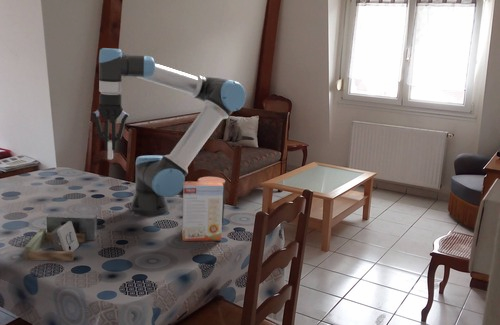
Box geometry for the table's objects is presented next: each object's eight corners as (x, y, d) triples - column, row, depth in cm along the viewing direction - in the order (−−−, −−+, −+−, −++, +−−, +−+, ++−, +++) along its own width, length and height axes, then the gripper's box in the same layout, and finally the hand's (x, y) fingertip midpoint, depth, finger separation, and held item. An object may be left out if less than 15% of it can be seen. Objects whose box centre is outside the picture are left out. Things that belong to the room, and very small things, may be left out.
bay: (85, 240, 179) (85, 229, 178) (72, 260, 162) (72, 248, 161) (41, 239, 177) (41, 228, 176) (24, 259, 161) (24, 247, 160)
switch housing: (97, 235, 183) (97, 214, 182) (94, 240, 179) (93, 218, 177) (50, 234, 182) (50, 212, 180) (46, 239, 177) (46, 217, 176)
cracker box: (219, 235, 191) (222, 180, 187) (221, 241, 186) (224, 185, 181) (181, 235, 189) (183, 180, 184) (182, 241, 183) (184, 184, 179)
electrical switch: (67, 257, 164) (64, 230, 162) (52, 257, 164) (48, 230, 162) (79, 246, 173) (76, 220, 171) (64, 246, 174) (61, 220, 172)
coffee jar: (196, 219, 207) (198, 176, 203) (222, 220, 208) (225, 177, 204) (195, 228, 196) (197, 183, 192) (223, 229, 197) (225, 184, 193)
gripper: (130, 93, 185) (130, 157, 190) (93, 91, 184) (94, 155, 189) (127, 95, 178) (127, 161, 183) (89, 93, 177) (89, 160, 182)
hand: (110, 158), depth 186 cm, fingers closed
